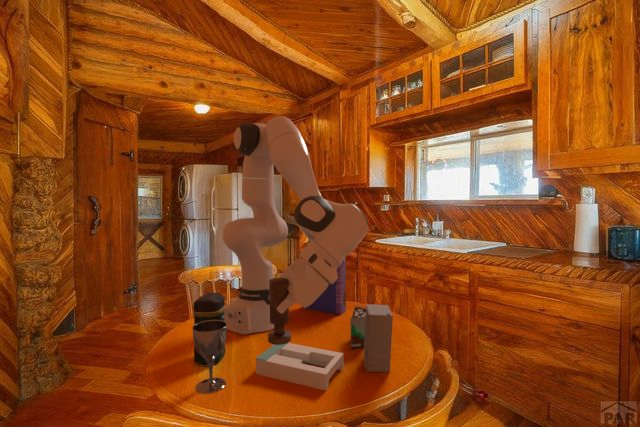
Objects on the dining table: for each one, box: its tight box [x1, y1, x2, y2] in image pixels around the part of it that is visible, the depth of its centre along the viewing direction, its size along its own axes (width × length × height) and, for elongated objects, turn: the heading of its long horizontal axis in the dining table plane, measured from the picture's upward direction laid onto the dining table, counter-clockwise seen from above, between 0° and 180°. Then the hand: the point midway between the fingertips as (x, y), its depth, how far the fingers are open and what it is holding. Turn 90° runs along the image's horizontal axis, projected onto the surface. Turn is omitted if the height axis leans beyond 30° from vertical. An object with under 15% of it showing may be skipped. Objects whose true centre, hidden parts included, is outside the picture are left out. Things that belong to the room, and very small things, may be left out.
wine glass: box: [192, 320, 228, 395], centre depth 84 cm, size 8×8×15 cm
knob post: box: [267, 277, 292, 345], centre depth 79 cm, size 5×5×14 cm
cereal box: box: [302, 256, 347, 316], centre depth 140 cm, size 17×5×24 cm, turn 60°
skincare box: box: [362, 303, 394, 373], centre depth 94 cm, size 8×7×16 cm
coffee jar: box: [192, 292, 226, 366], centre depth 98 cm, size 10×8×19 cm
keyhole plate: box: [255, 342, 345, 392], centre depth 91 cm, size 20×12×4 cm, turn 66°
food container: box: [349, 305, 366, 350], centre depth 108 cm, size 12×6×10 cm, turn 168°
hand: (276, 306), depth 79 cm, fingers closed on knob post, 4 cm apart
